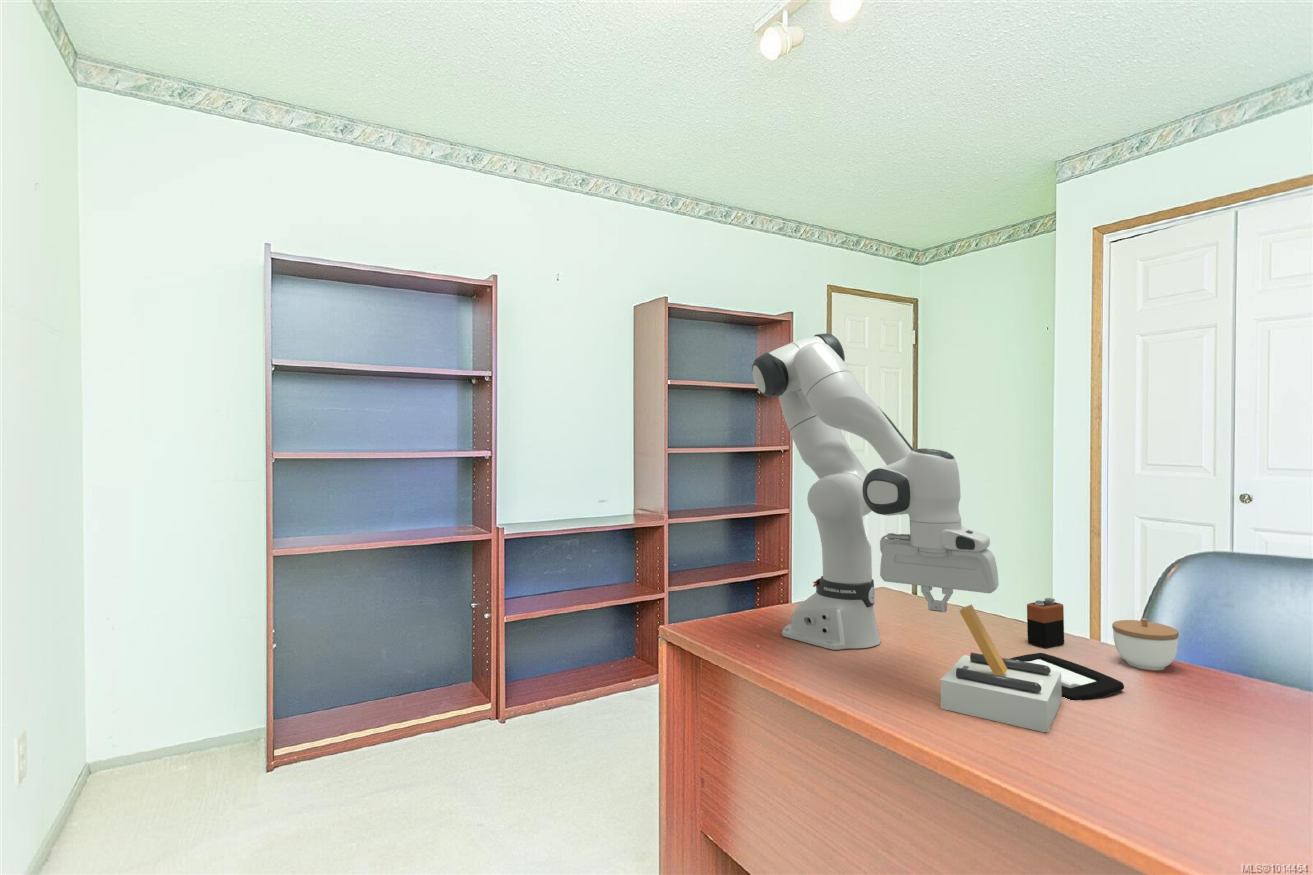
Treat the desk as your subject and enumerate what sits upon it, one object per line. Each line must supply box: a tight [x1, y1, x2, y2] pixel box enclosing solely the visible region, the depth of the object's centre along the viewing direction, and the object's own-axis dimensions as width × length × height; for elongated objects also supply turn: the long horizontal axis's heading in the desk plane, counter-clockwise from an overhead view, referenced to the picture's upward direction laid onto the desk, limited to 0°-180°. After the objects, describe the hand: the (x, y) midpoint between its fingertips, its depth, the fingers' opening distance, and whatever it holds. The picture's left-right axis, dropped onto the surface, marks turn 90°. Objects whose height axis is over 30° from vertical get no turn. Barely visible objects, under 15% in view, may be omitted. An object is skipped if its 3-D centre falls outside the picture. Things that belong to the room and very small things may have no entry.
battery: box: [1026, 597, 1065, 649], centre depth 146 cm, size 4×7×10 cm, turn 113°
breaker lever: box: [959, 604, 1007, 676], centre depth 115 cm, size 2×3×12 cm, turn 141°
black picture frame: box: [1009, 652, 1125, 701], centre depth 125 cm, size 20×3×14 cm
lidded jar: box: [1111, 618, 1180, 672], centre depth 131 cm, size 11×11×9 cm
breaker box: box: [939, 652, 1063, 734], centre depth 113 cm, size 16×16×7 cm
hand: (937, 611), depth 120 cm, fingers closed
